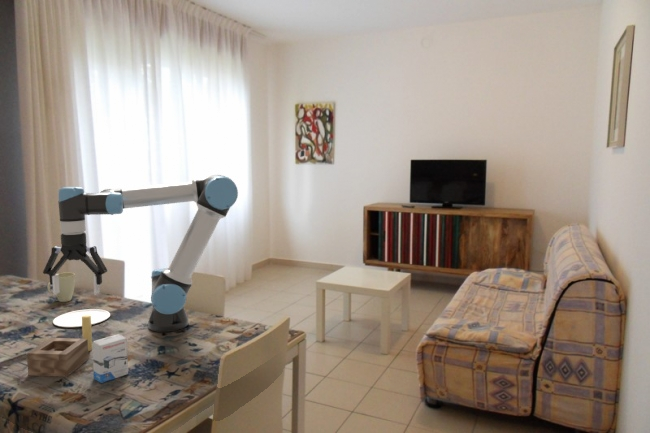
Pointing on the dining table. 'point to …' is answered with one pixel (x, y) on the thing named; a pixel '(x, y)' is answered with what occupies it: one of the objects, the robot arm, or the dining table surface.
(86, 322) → the pin
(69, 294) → the mug
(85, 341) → the bore block
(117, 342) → the ink box
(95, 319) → the plate
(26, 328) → the dining table surface
